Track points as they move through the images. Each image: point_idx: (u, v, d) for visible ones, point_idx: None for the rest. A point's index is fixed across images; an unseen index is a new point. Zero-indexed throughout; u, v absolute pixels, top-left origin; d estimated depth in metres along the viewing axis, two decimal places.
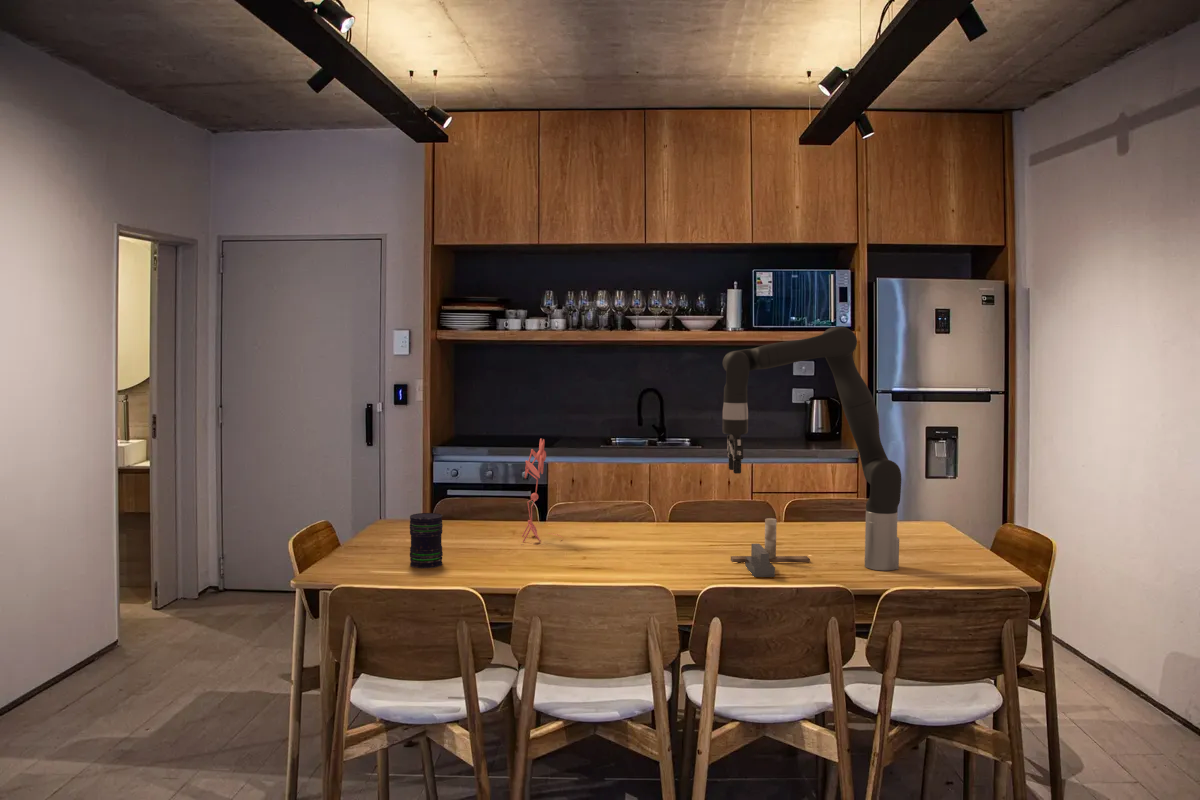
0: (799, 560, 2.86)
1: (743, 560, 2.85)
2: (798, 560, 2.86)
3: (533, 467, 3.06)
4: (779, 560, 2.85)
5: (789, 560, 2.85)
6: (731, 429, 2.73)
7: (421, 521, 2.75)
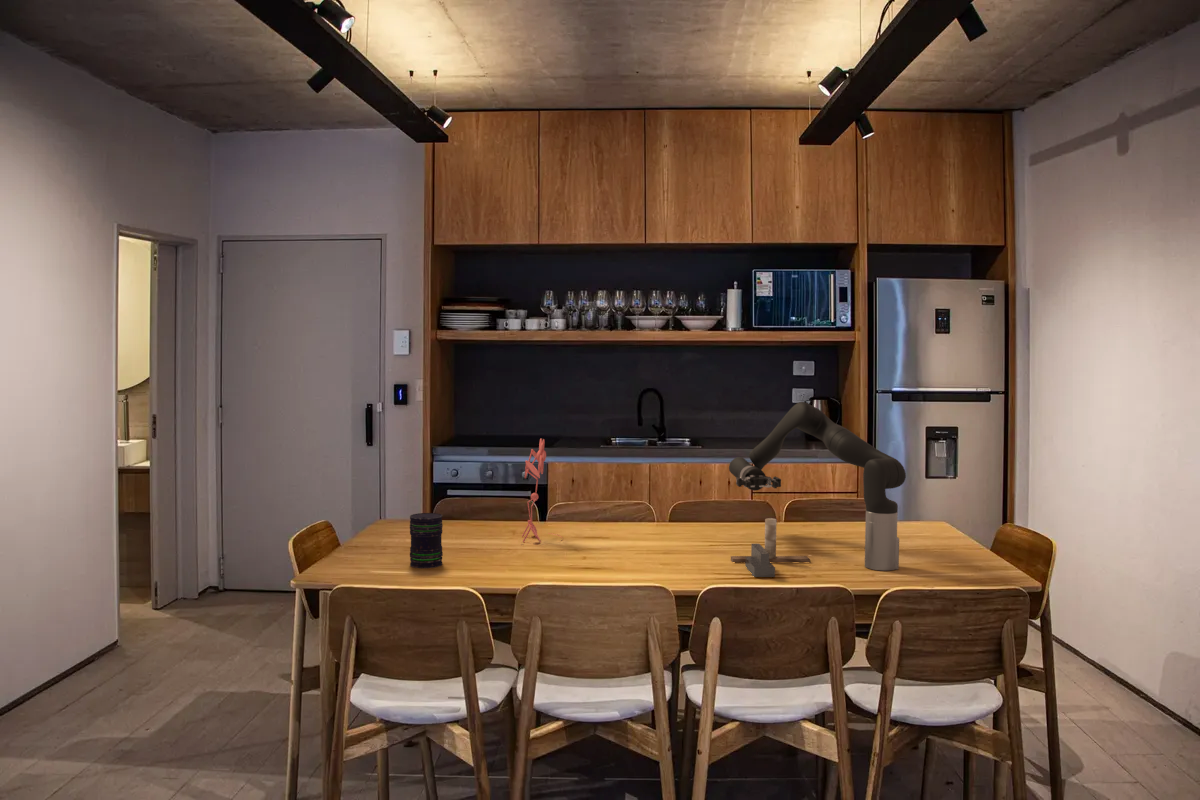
0: (799, 560, 2.86)
1: (743, 560, 2.85)
2: (798, 560, 2.86)
3: (533, 467, 3.06)
4: (779, 560, 2.85)
5: (789, 560, 2.85)
6: None
7: (421, 521, 2.75)
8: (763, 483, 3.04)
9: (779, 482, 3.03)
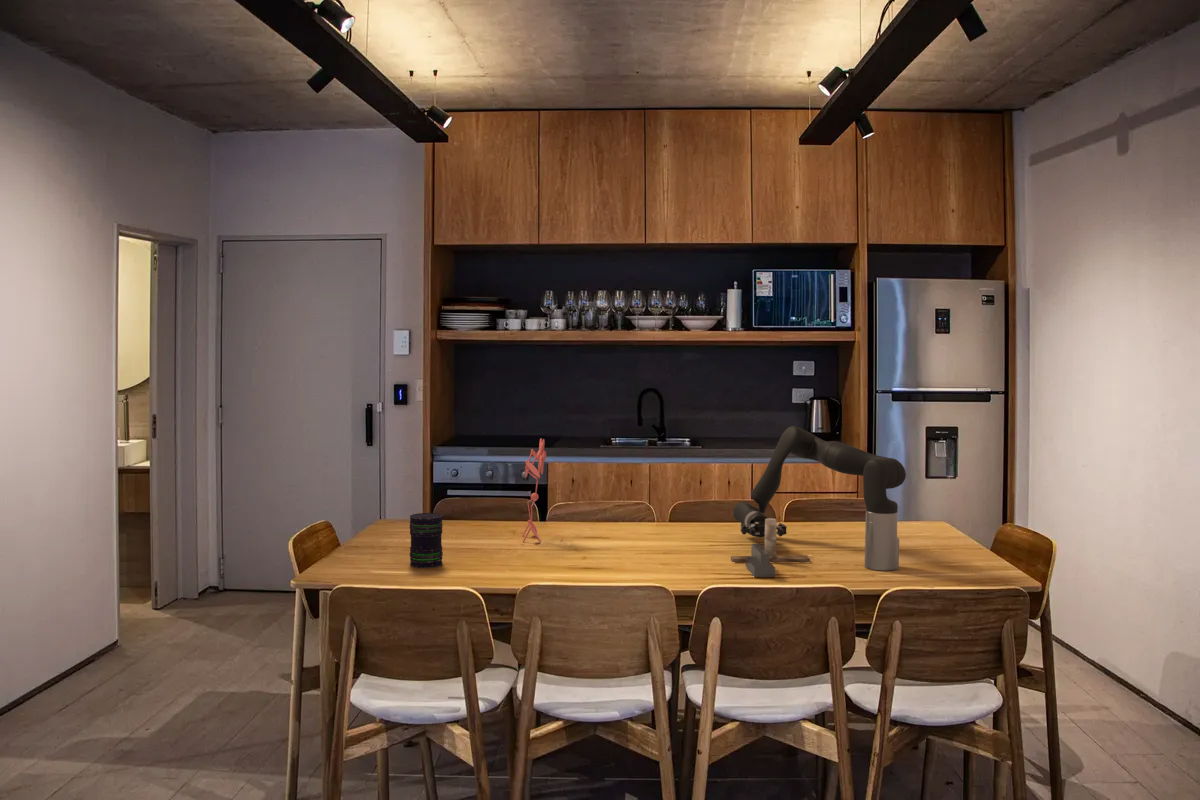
0: (799, 560, 2.86)
1: (743, 560, 2.85)
2: (798, 560, 2.86)
3: (533, 467, 3.06)
4: (779, 560, 2.85)
5: (789, 560, 2.85)
6: None
7: (421, 521, 2.75)
8: None
9: (784, 529, 2.96)
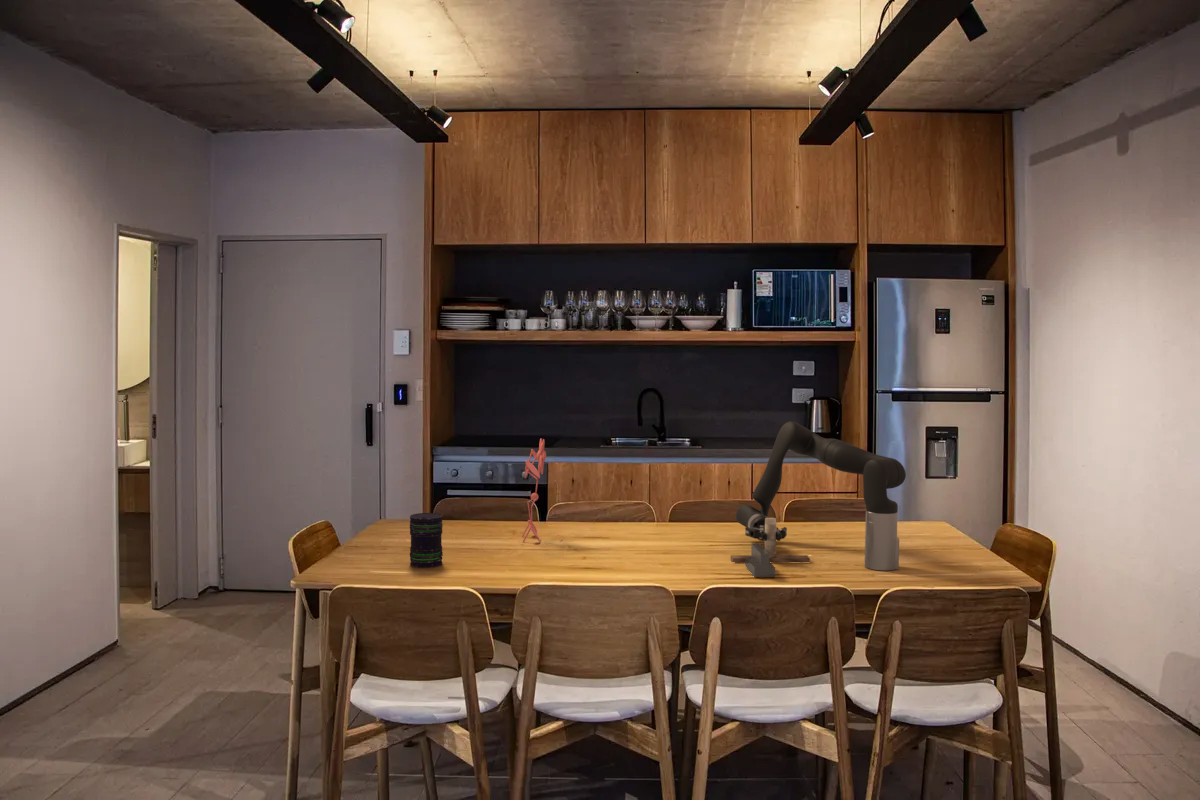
0: (799, 559, 2.85)
1: (743, 559, 2.85)
2: (798, 559, 2.85)
3: (533, 467, 3.06)
4: (779, 559, 2.85)
5: (789, 559, 2.85)
6: None
7: (421, 521, 2.75)
8: None
9: (782, 533, 2.89)
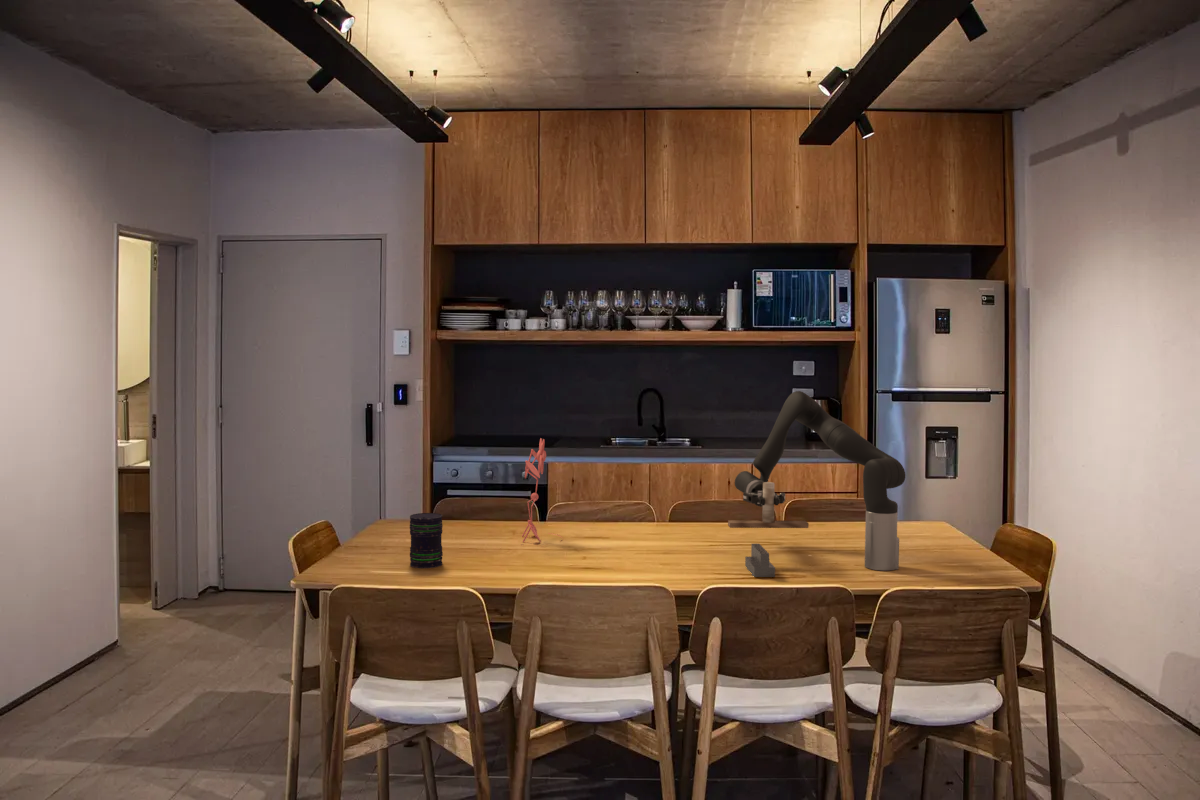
0: (797, 524, 2.81)
1: (740, 524, 2.81)
2: (796, 524, 2.81)
3: (533, 467, 3.06)
4: (777, 524, 2.81)
5: (787, 524, 2.81)
6: None
7: (421, 521, 2.75)
8: None
9: (780, 498, 2.84)
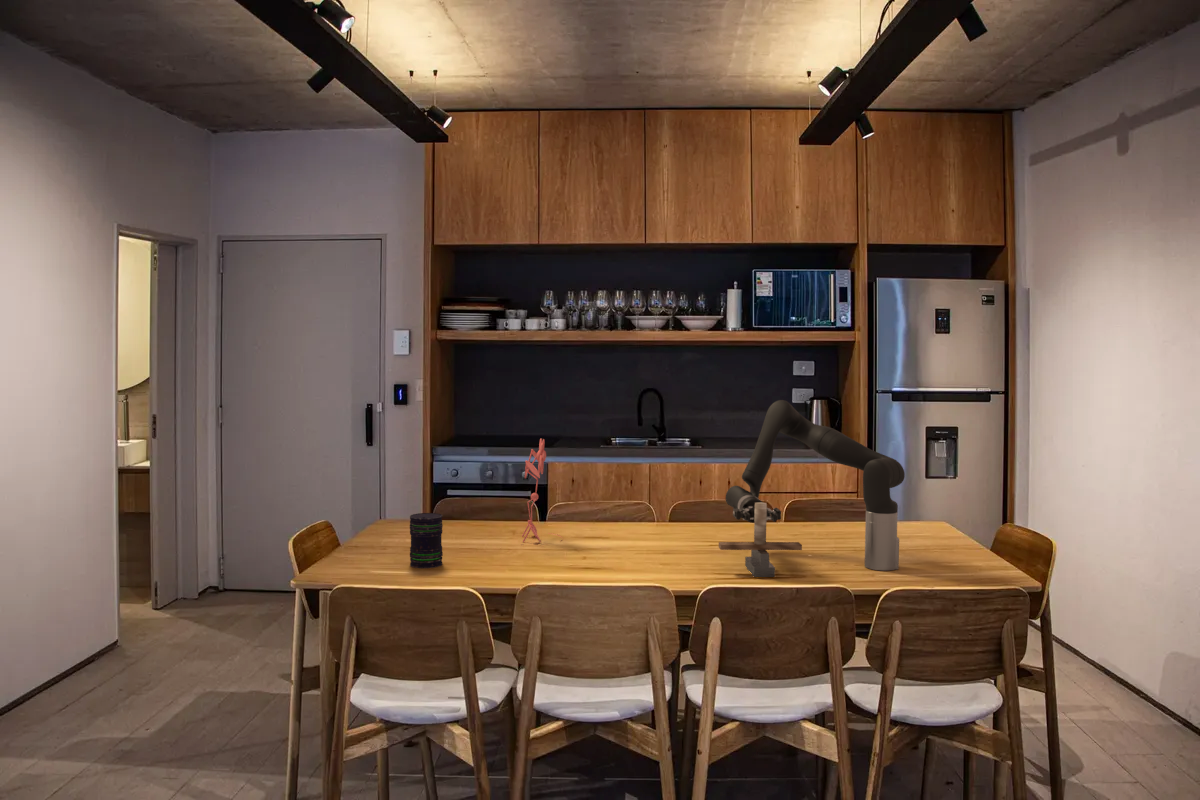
0: (790, 546, 2.72)
1: (731, 546, 2.71)
2: (789, 546, 2.72)
3: (533, 467, 3.06)
4: (769, 546, 2.71)
5: (780, 546, 2.72)
6: None
7: (421, 521, 2.75)
8: None
9: (779, 514, 2.75)
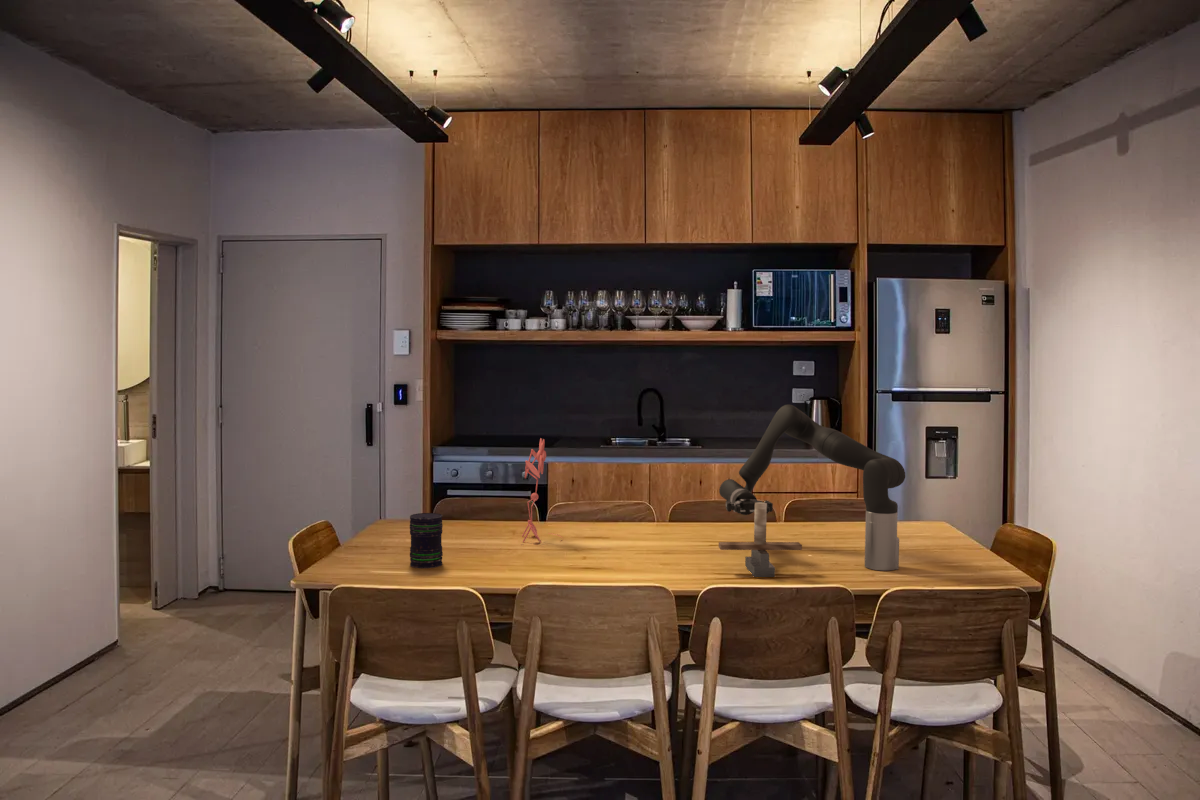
0: (790, 546, 2.72)
1: (731, 546, 2.71)
2: (789, 546, 2.72)
3: (533, 467, 3.06)
4: (769, 546, 2.71)
5: (780, 546, 2.72)
6: None
7: (421, 521, 2.75)
8: (754, 507, 2.90)
9: (770, 507, 2.88)
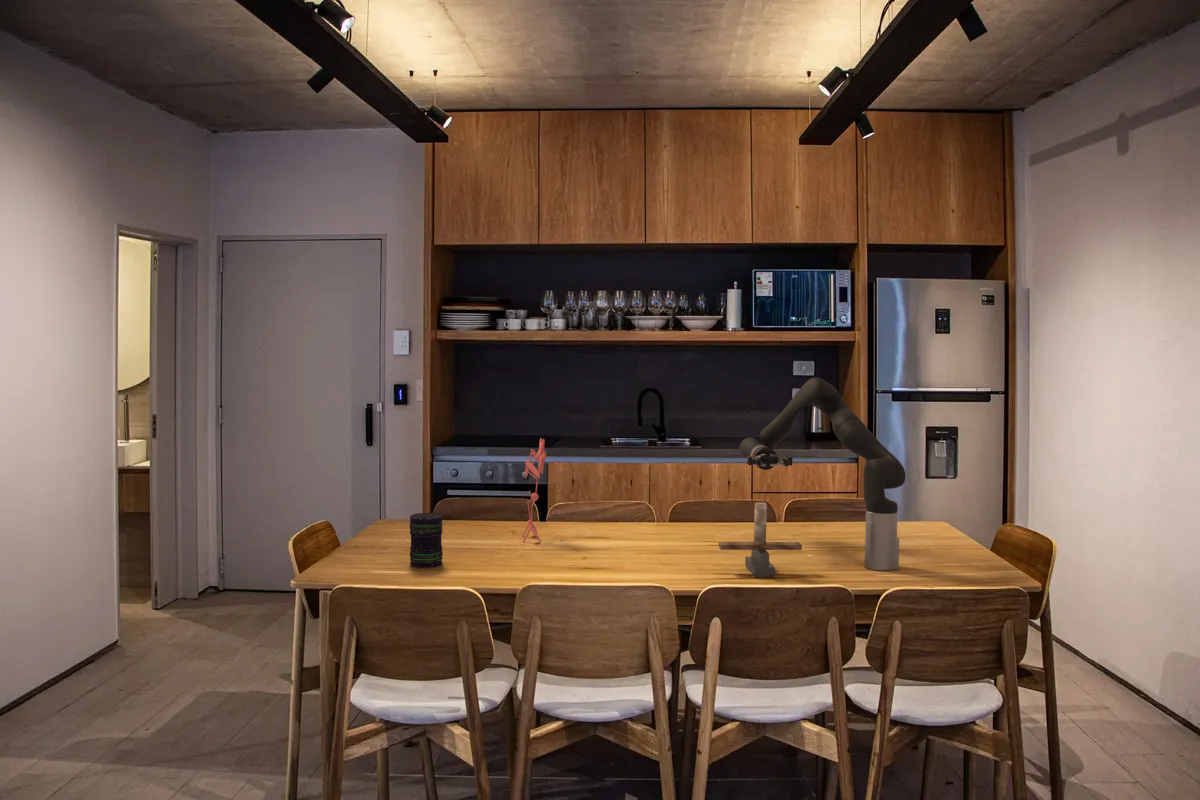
0: (790, 546, 2.72)
1: (731, 546, 2.71)
2: (789, 546, 2.72)
3: (533, 467, 3.06)
4: (769, 546, 2.71)
5: (780, 546, 2.72)
6: None
7: (421, 521, 2.75)
8: (774, 462, 2.98)
9: (790, 460, 2.96)
